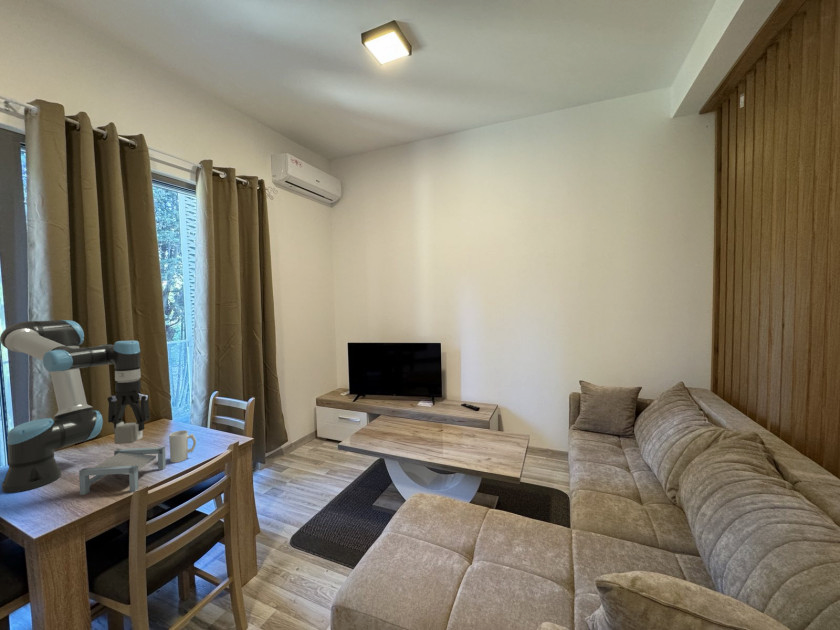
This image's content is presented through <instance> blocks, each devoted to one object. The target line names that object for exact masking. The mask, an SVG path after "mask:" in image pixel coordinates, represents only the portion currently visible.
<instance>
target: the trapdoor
mask: <svg viewBox="0 0 840 630" xmlns="http://www.w3.org/2000/svg"><path fill="white" fill-rule="evenodd" d="M156 458H157V455H155V454H132V453H120V452H119V453H118V454H116V455H112V456H111V457H109V458H107V459H106V460H103V461H102V462H100V463H99V464H97V465H95V466H93V467H92V468H99V467H117V466H135V465H138V471H140V470H141V469H142V468H144V467H145V466H147V465H148V464H149V463H151V462H152V461H154V460H156ZM124 475H129V473H125V474H124Z"/></svg>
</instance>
